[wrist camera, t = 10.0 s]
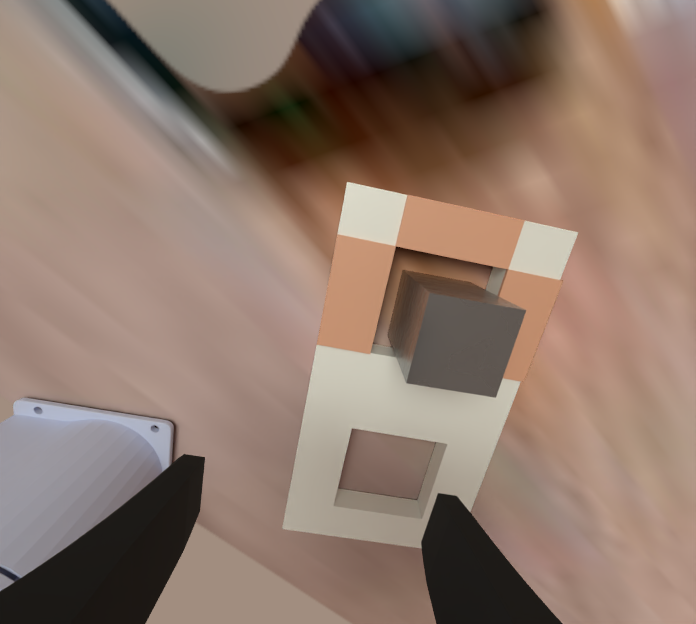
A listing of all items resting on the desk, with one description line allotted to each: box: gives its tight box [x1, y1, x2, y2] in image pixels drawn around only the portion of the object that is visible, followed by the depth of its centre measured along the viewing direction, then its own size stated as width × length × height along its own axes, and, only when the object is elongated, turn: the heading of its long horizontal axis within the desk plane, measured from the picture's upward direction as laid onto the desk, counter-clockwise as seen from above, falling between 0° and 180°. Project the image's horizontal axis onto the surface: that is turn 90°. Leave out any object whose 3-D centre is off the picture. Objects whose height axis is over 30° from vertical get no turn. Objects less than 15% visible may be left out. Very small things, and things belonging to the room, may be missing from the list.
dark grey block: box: [388, 270, 526, 398], centre depth 16 cm, size 4×4×6 cm
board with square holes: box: [282, 182, 578, 549], centre depth 20 cm, size 12×22×2 cm, turn 169°
